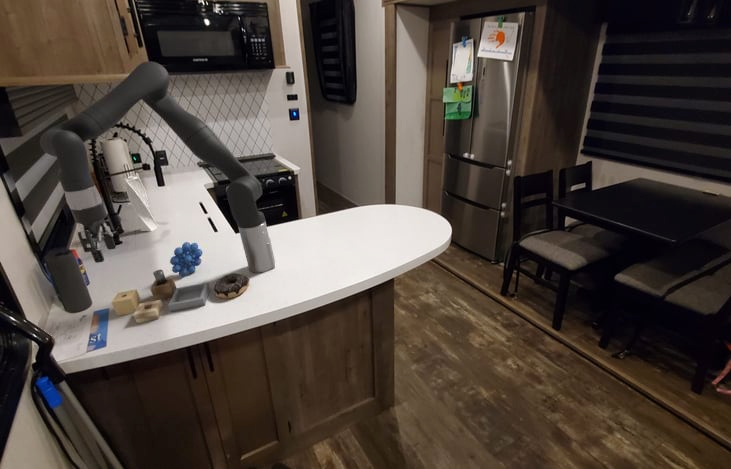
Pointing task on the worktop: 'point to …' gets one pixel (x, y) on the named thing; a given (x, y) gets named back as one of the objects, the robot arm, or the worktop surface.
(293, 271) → the worktop surface
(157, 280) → the cylinder
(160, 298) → the block
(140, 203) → the skyscraper
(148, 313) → the stand
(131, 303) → the block
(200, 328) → the worktop surface
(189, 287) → the tray
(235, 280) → the donut
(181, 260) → the grapes
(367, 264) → the worktop surface
